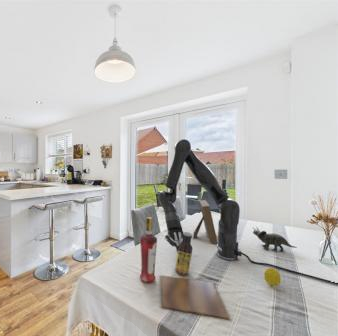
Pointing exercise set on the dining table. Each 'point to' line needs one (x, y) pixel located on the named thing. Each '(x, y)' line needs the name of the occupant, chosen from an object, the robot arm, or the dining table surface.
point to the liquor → (148, 253)
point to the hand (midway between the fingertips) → (180, 254)
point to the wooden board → (192, 297)
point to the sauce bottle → (184, 254)
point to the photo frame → (206, 222)
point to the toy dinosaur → (271, 240)
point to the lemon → (272, 276)
